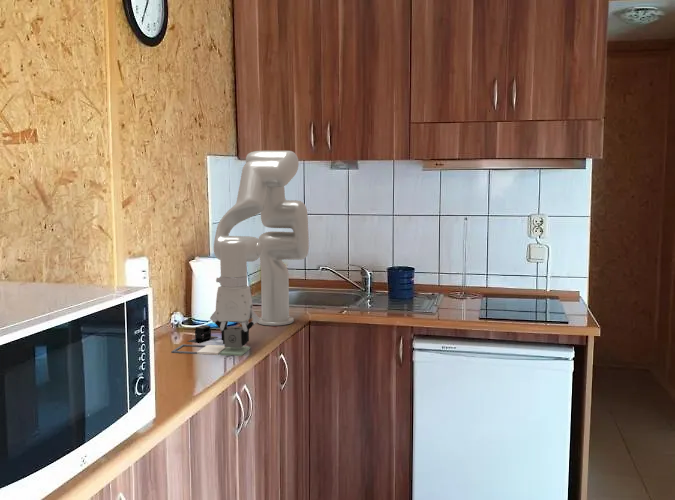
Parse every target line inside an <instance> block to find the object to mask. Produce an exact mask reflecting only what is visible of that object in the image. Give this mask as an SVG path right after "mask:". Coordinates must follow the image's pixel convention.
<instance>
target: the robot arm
mask: <svg viewBox="0 0 675 500" xmlns="http://www.w3.org/2000/svg"><path fill="white" fill-rule="evenodd" d="M298 170H299V158H298V155H297V154H296V153H295V152H294V151H292V150H255V151H251V152H249V153H247V154H246V157H245V163H244V164H243V167H242V170H241V176H240V180H239V181H240V182H239V187H238V192H237V198H236V202H235V204H234V205H233V206H232V207H231V208H229V209H228V210H227V211H226V212H225V213H224V215H223V216H222V218H220V220H219V222H218V224H217V226H216V232H215V235H214V242H213V254H214V256H215V258H216V259H217V260H219V262H220V276H219V277H216V279H215V281H216V283H219V285H220V286H218V287H217V291H216V299H215V311H214V312H213V313H212V314H211V316H210V317H209V319H210V320H211V321H212V322H213V323H214V324H215V325H216V326H217V327H218V328H219V330H220V331H221V333H220V335H221V341H222V344H223V345H224V330H225V329H227V328H228V325H229V323H240V324H241V327H243V331H242V345H244V346H245V345H246V343H247V344H248V342H249V341H250V333H249V331H250V329H251V328H252V327H253V326H254V325H255V324H256V323H258V324H259V325H263V326H269V327H270V326H287V325H289V324H290V325H291V324H292V323H294V317H292V316H290V292H289V291H290V290H289V289H290V285H289V284H290V281H289V277H290V276H289V275H290V274H289V269H288V267H287V266H286V264H285V263H284V262H283V260H290V261H291V260H293V261H294V260H295V261H300V260H304V259H306V258H307V257H308V255H309V247H310V245H309V244H310V242H309V241H310V240H309V238H310V237H309V216H308V209H307V207H306V204H305V203H304V202H303V201H301V200H296V199H295V200H292V199H290V200H289V199H286V195H285V194H286V193H285V187H286V186H287V185H289V183H290V182H291V181H292V179H294V177H295V176H296V174H297V172H298ZM259 214H260V220H261V223H262V224H261V225H263V226H264V227H265V228H268V229H291V230H292V231H266V232H263V233H261V234H260V236H258V237H255V236H246V235H245V236H243V235H242V236H241V235H230V234H231V231H232V229H233V228H234V227H236V226H237V225H238V224H239V223H241V222H244V221H245V220H248V219H250V218H253V217H254V216H256V215H259ZM257 260H259V262H260V287H261V288H260V289H261V290H260V292H261V294H260V295H261V316H260V317H259V316H258V313H256V312H255V310H254V309H253V308H254V307H253V299H252V293H251V288H250V286H249V285H248V272H247V271H248V265H247V263H248V262H252V263H253V262H255V261H257ZM251 319H252V320H251ZM249 320H251V321H250V322H249Z"/></svg>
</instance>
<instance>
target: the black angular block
mask: <svg viewBox="0 0 675 500" xmlns="http://www.w3.org/2000/svg"><path fill="white" fill-rule="evenodd" d="M214 339H219V336H215V335H212V328H211V325H204V324H202V325H199V326H195V330H194V338H192V339H189V340H187V341H186V342H188V343H195V344H203V343H206V342H209V341H213V340H214Z"/></svg>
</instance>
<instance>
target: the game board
mask: <svg viewBox="0 0 675 500" xmlns="http://www.w3.org/2000/svg"><path fill="white" fill-rule="evenodd" d="M183 347H190V348H191V347H193V348H200V349H199V350H198V351H182V350H181V351H180V349H182V348H183ZM249 350H251V346H245V345H244V346H243V347H241V348H235V347H225V346H224V344H223V345H222V344H221V345H218V344H206V345H204V344H203V345H202V344H186V343H185V344H181V345H179V346H178V347H176V348H174V349H173V350H172V351H171V354H172V353H173V354H192V355H211V356H212V355H215V356H219V355H220V356H231V355H234V356H233V357H235V356H237V357H242V356H243V355H244V354H246V353H247V352H248V351H249Z"/></svg>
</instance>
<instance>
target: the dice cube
mask: <svg viewBox="0 0 675 500" xmlns="http://www.w3.org/2000/svg"><path fill="white" fill-rule="evenodd" d="M242 331H243V327H242V326H237V325H235V326H233V325H231V326H227V329H225V330H224V344H223V346H225V347H235V348H241V347H243V346H245V345H246V344H248V342H247V343H246V344H245V345H242Z"/></svg>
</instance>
